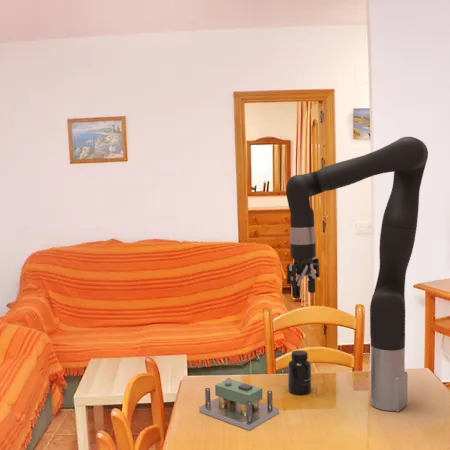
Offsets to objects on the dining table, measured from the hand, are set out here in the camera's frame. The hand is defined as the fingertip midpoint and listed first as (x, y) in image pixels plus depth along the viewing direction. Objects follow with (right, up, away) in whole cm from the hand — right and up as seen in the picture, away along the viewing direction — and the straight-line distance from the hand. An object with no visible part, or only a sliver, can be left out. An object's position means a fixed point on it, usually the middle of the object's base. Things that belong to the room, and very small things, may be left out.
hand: (304, 295), depth 166 cm
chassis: (-20, -31, -12) cm, 39 cm away
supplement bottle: (-1, -30, +2) cm, 30 cm away
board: (-20, -27, -12) cm, 36 cm away
